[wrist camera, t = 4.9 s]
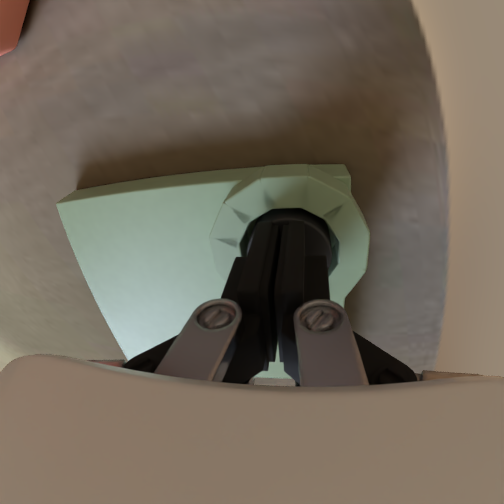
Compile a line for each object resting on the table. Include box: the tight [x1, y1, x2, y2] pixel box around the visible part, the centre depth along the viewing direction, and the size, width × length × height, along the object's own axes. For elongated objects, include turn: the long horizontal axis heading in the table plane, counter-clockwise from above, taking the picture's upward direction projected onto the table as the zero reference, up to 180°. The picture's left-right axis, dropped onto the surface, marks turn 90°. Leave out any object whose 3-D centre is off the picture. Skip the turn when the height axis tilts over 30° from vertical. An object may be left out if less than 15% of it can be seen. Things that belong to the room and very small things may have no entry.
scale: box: [56, 164, 370, 379], centre depth 16 cm, size 16×14×4 cm
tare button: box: [247, 208, 332, 269], centre depth 12 cm, size 3×3×2 cm
